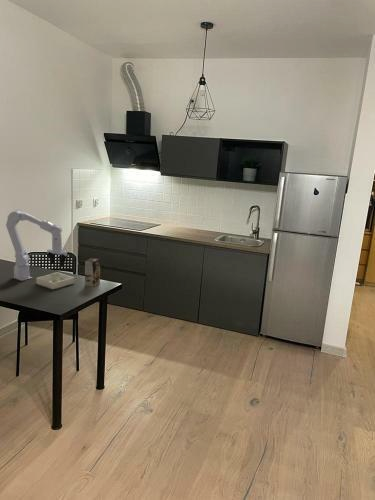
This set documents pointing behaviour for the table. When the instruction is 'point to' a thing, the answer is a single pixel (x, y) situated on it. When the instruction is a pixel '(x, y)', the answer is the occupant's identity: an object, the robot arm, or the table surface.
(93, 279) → the coffee box
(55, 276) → the sage green capsule
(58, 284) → the white bin
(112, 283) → the table surface
